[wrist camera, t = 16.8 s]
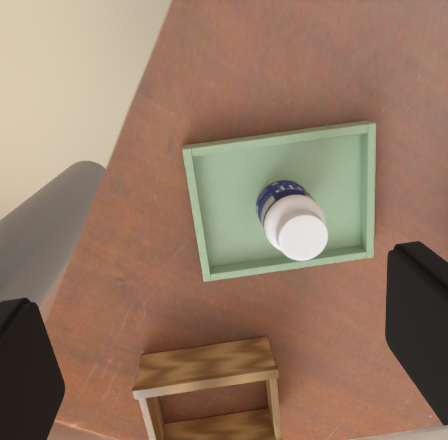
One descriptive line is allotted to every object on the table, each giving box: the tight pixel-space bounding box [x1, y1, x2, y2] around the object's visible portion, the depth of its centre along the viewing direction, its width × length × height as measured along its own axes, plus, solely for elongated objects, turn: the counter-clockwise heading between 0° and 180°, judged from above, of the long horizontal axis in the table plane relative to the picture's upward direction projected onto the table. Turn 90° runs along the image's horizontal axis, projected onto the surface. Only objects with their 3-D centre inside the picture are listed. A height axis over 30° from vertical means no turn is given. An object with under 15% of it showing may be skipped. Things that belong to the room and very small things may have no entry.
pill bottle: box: [256, 179, 328, 261], centre depth 35 cm, size 5×5×9 cm
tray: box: [182, 120, 376, 282], centre depth 39 cm, size 18×14×2 cm
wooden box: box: [132, 337, 283, 440], centre depth 45 cm, size 15×12×6 cm
